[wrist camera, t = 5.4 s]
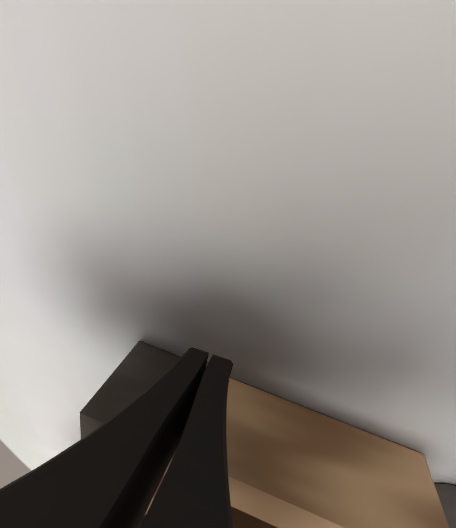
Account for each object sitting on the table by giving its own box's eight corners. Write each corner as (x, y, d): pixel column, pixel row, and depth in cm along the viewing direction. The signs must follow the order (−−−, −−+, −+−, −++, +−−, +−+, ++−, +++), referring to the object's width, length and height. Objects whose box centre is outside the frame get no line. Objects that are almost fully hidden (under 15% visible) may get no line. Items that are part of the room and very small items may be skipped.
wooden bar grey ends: (424, 453, 11) (472, 587, 8) (401, 476, 11) (435, 605, 8) (139, 341, 12) (79, 412, 9) (136, 367, 13) (81, 441, 10)
